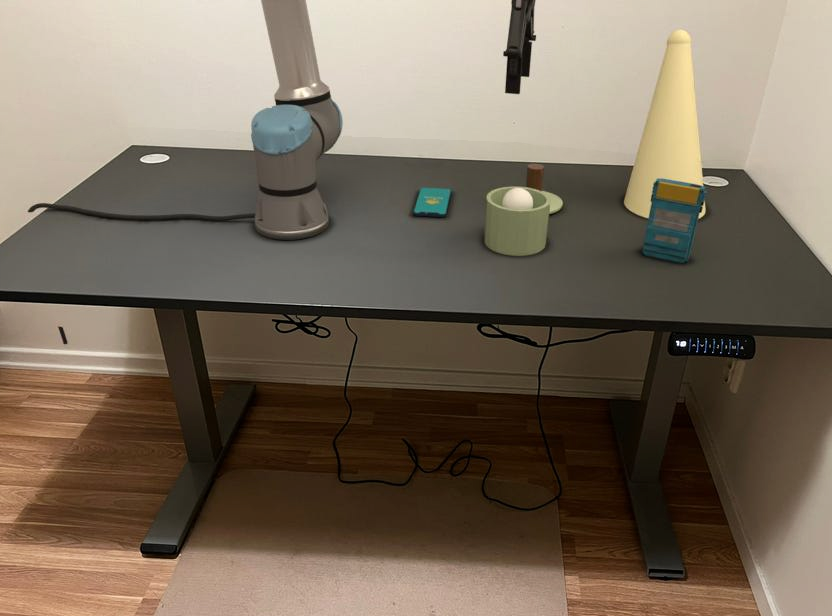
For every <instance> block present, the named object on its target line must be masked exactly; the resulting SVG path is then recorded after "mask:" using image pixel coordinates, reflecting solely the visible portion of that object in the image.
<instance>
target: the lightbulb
mask: <svg viewBox="0 0 832 616" xmlns="http://www.w3.org/2000/svg"><path fill="white" fill-rule="evenodd" d="M502 206H503V207H505V208H510V209H519V210H524V209H532V208H533V199H532V196H531V195H530V193H529V192H528V191H526V190H525V189H522V188H514V189H511V190H509V191H508V192H507V193H506V194H505V196H504V198H503V201H502Z"/></svg>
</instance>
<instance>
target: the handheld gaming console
mask: <svg viewBox="0 0 832 616" xmlns="http://www.w3.org/2000/svg"><path fill="white" fill-rule="evenodd" d="M652 193H653V194H652V196H651V202H652V203H651V208H650V213H649V218H647V225H646V229H645V235H644V241H643V246H642V251H641V253H642V254H644V256H645V257H649V258H655V259H659V260H663V261H670V262H674V263H678V264H684V263H685V262H686V263H689V260H690V256H691V254H692V247H693V243H694V239H695V235H696V230H697V226H698V222H699V219H700V218H699V214H700V213H701V212H702V208H703V207H702V206H703V204H704V201H705V202H706V195H707V190H706V186H704V185H703V186H702V185H697V184H691V183H686V182H680V181H674V180H669V179H663V178H662V179H659V178H657V180H656V182H654V184H653V190H652ZM698 218H699V219H698Z"/></svg>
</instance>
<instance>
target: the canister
mask: <svg viewBox="0 0 832 616" xmlns="http://www.w3.org/2000/svg"><path fill="white" fill-rule="evenodd" d="M514 188H522V189H525V190H526V191H528V192H529V193H530V195H531V196H532V199H533V208H532V209H524V210H519V209H510V208H505V207H503V206H502V201H503V198H504V196H505V194H506V193H507V192H508V191H509V190H511V189H514ZM550 203H551V199H550V197H549V196H548V195H547V194H545V193H544V192H541V191H539V190H536V189H532V188H527V187H526V186H504V187H498V188H496V189H492V190H491V191H489V192H488V193H487V195H486V199H485V217H484V234H483V235H484V237H483V240H484V241H483V242H484V244H485V246H486V247H487V248H488V249H490V250H491V251H493V252H495V253H498V254H501V255H505V256H513V257H524V256H531V255H535V254H538V253H540V252H542V251H543V250H544V249H545V248H546V245H547V240H548V231H549V222H550V221H549V220H550V214H549V212H550Z"/></svg>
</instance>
